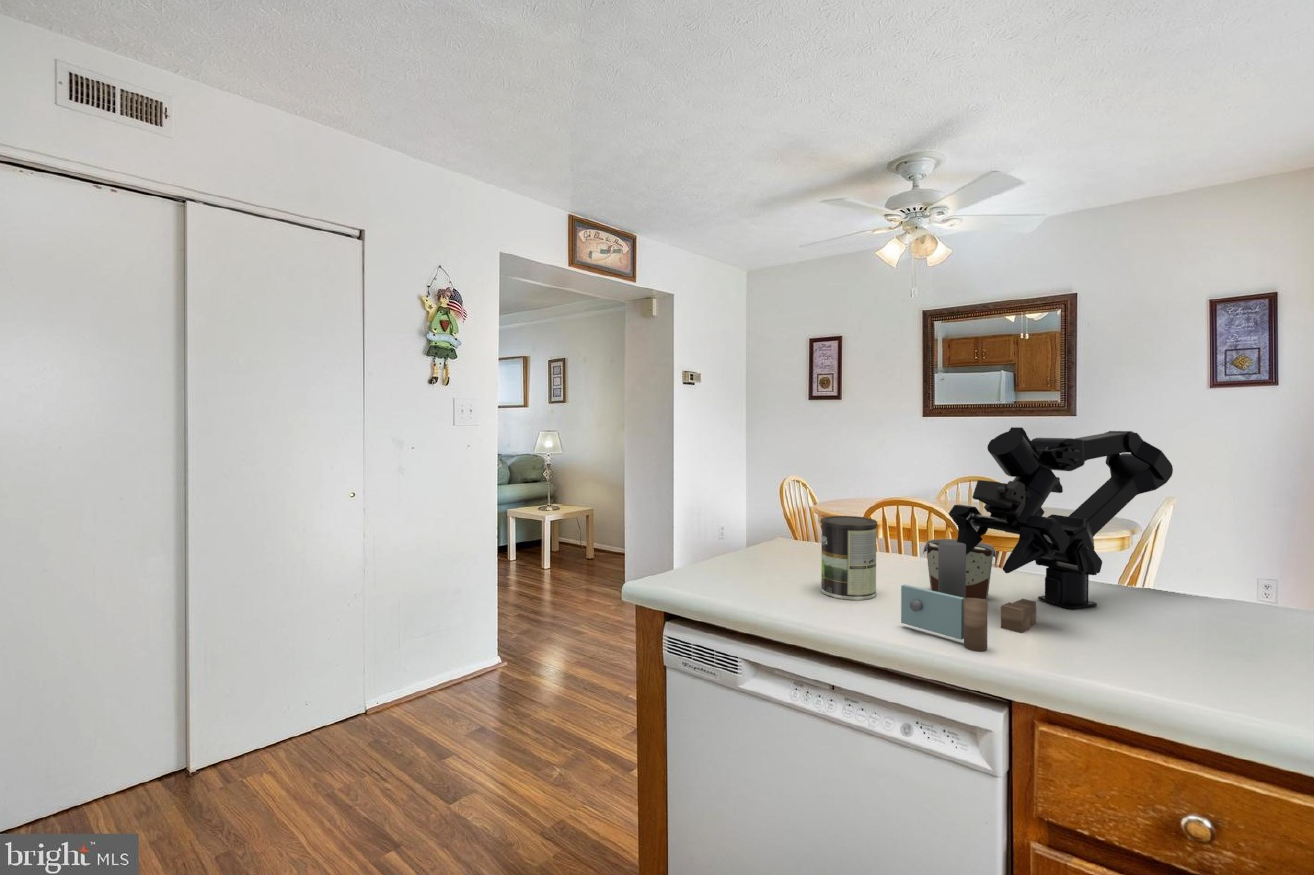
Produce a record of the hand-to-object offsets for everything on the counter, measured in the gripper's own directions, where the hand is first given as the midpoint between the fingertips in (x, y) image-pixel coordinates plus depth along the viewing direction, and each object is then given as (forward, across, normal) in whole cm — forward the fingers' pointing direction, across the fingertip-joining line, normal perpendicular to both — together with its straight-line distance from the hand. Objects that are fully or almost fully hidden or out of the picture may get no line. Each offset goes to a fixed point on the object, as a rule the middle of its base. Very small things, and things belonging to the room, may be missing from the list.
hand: (979, 565), depth 99 cm
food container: (0, -12, +13) cm, 17 cm away
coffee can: (+13, -21, 0) cm, 25 cm away
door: (+16, +3, -4) cm, 16 cm away
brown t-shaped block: (+9, +7, +4) cm, 12 cm away
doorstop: (+11, 0, +2) cm, 11 cm away
